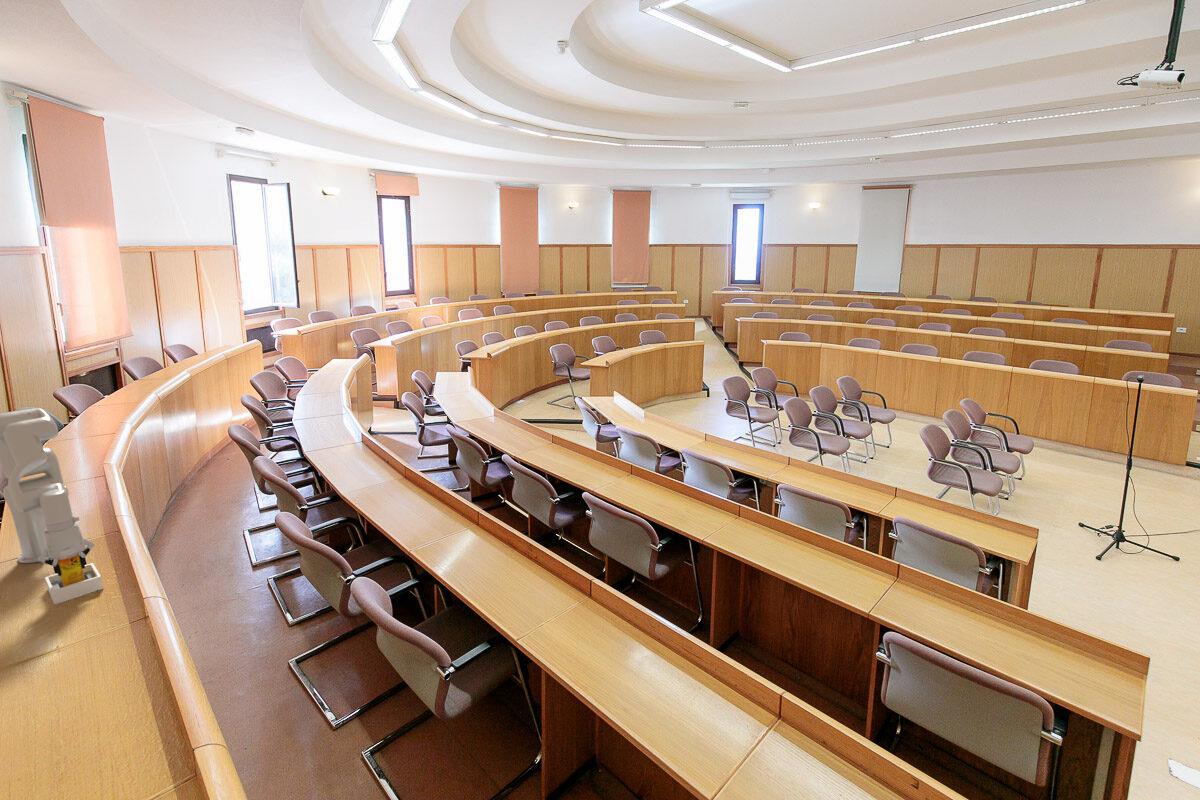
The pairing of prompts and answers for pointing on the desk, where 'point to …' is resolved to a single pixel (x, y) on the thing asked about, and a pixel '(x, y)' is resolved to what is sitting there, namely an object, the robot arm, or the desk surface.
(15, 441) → the robot arm
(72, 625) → the desk surface
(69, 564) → the beer can
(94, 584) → the socket box
